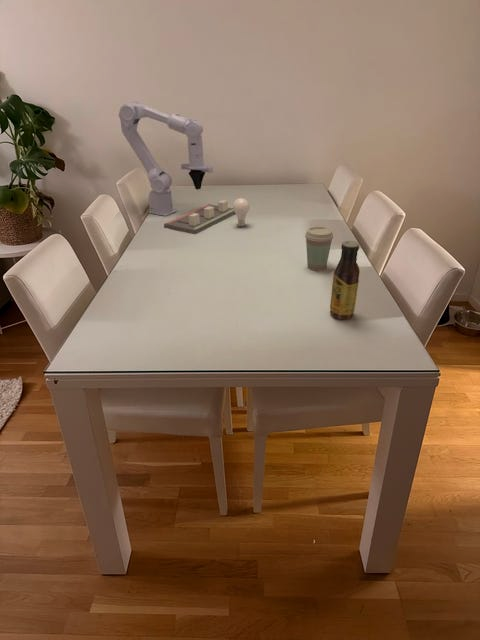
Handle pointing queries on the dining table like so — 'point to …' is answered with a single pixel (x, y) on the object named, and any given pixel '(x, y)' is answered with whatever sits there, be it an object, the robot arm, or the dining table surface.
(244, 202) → the lightbulb
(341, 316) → the sauce bottle
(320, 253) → the coffee cup
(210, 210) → the breaker middle
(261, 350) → the dining table surface
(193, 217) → the block
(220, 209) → the breaker left
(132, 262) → the dining table surface
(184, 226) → the breaker panel
